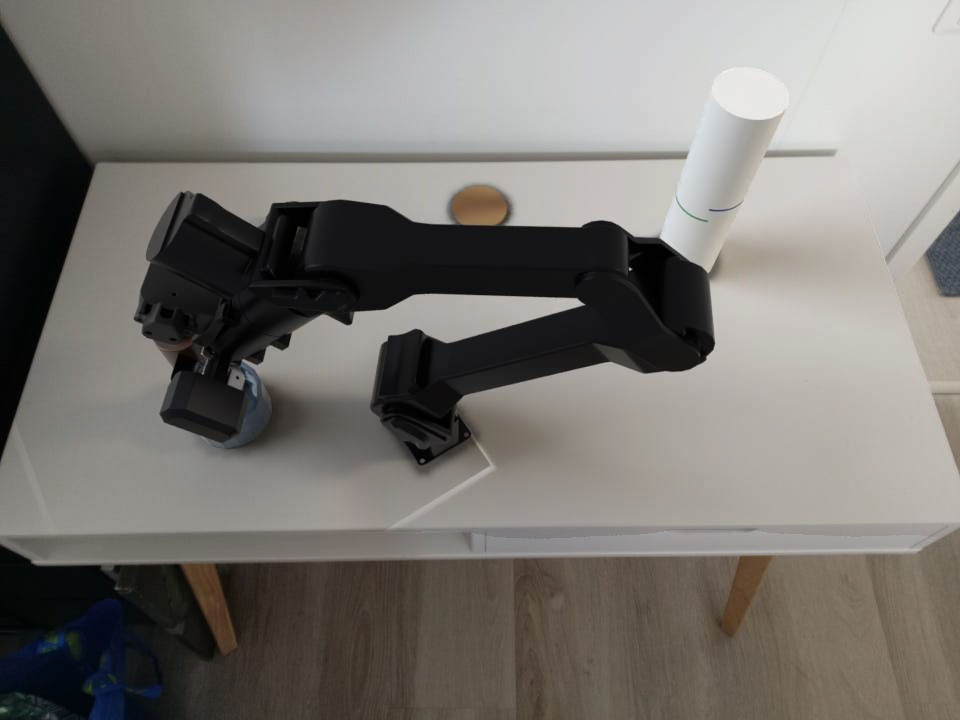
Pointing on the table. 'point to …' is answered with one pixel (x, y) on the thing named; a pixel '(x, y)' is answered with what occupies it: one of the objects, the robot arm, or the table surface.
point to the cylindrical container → (723, 161)
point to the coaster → (479, 206)
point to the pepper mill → (181, 350)
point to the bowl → (250, 410)
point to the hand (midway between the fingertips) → (184, 360)
